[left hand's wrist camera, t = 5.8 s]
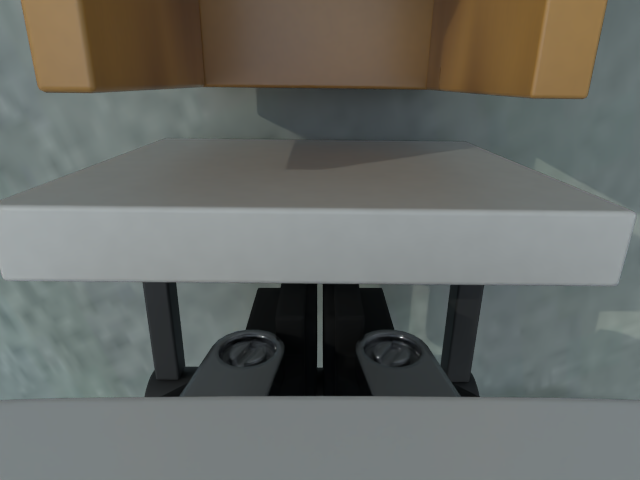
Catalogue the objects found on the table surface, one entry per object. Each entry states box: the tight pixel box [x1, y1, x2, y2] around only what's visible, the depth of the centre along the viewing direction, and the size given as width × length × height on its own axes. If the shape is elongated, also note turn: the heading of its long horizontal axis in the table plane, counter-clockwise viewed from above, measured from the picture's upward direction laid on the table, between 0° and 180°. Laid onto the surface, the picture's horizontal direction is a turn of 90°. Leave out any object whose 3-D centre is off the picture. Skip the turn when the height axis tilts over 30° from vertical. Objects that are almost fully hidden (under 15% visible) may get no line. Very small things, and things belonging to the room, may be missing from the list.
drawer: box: [0, 0, 636, 397], centre depth 9 cm, size 20×9×8 cm, turn 179°
